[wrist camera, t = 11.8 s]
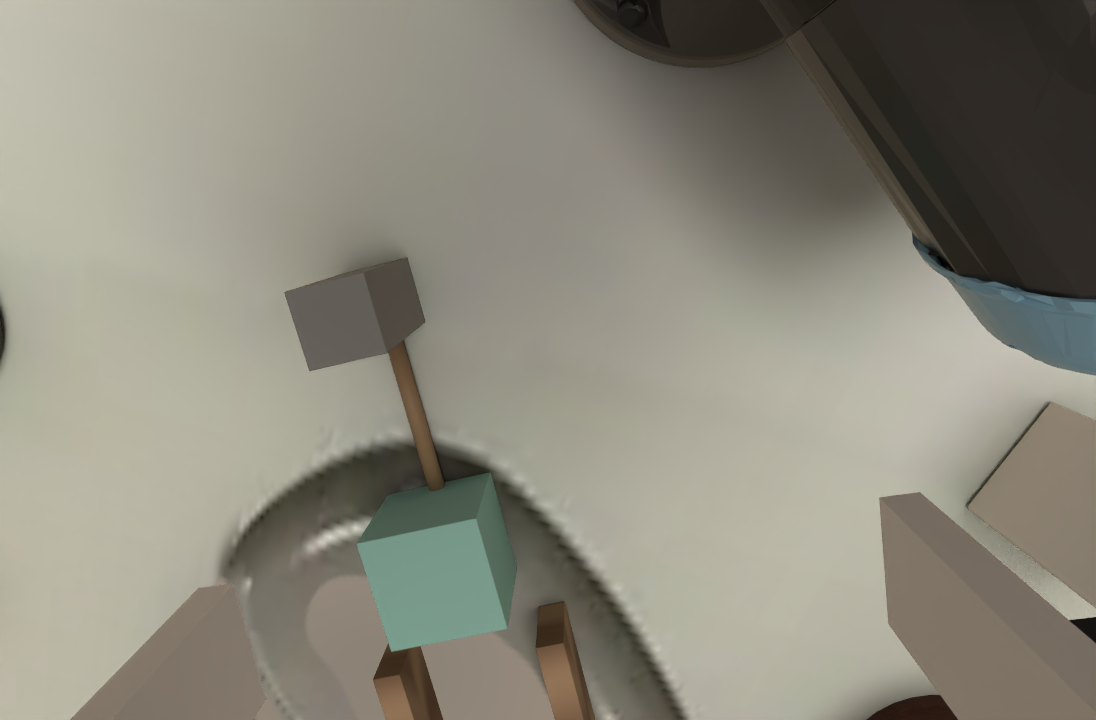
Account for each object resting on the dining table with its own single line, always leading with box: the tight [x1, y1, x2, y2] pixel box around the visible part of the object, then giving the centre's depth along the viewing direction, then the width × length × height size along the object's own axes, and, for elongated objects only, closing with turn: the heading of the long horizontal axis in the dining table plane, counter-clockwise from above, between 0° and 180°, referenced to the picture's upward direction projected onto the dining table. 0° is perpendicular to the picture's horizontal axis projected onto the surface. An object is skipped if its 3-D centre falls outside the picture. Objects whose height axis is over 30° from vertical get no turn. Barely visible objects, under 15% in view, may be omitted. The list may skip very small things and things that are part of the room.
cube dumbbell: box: [284, 258, 517, 652], centre depth 36 cm, size 18×6×8 cm, turn 14°
